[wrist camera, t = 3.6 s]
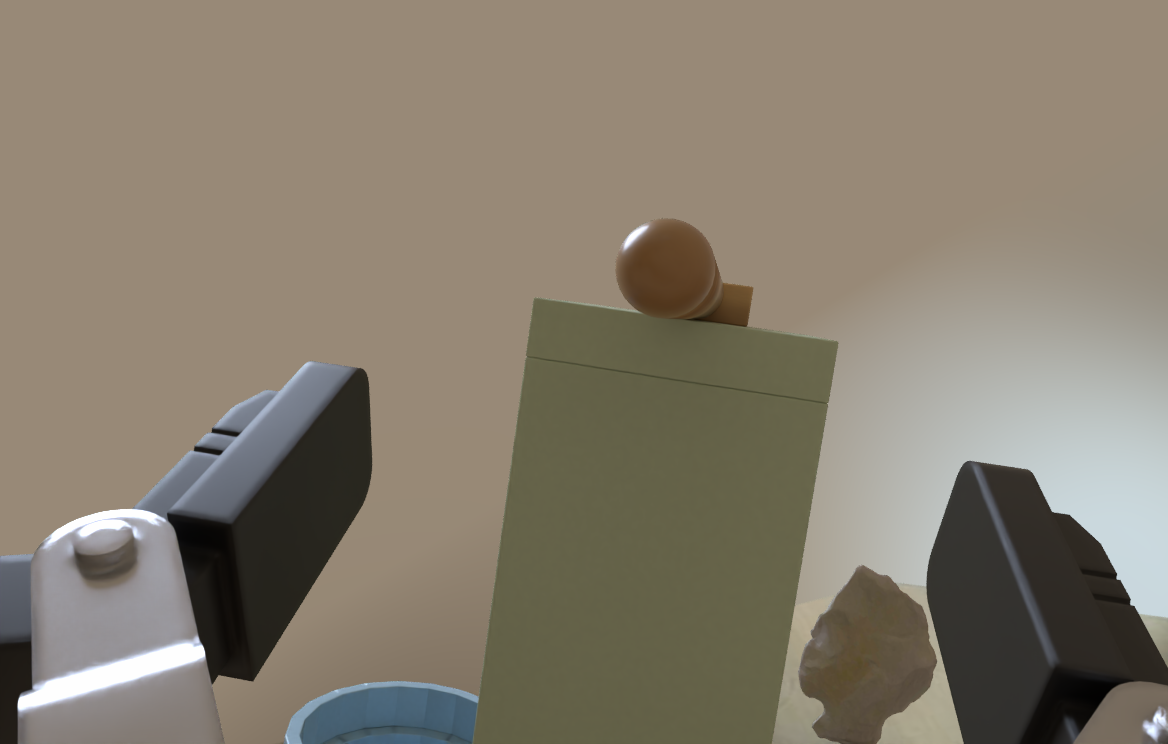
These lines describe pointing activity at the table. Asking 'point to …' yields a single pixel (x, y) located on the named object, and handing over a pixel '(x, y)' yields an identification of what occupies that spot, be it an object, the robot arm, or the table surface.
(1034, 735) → the robot arm
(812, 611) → the table surface
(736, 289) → the wooden tool
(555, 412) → the stand
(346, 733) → the bowl
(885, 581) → the stone tool
